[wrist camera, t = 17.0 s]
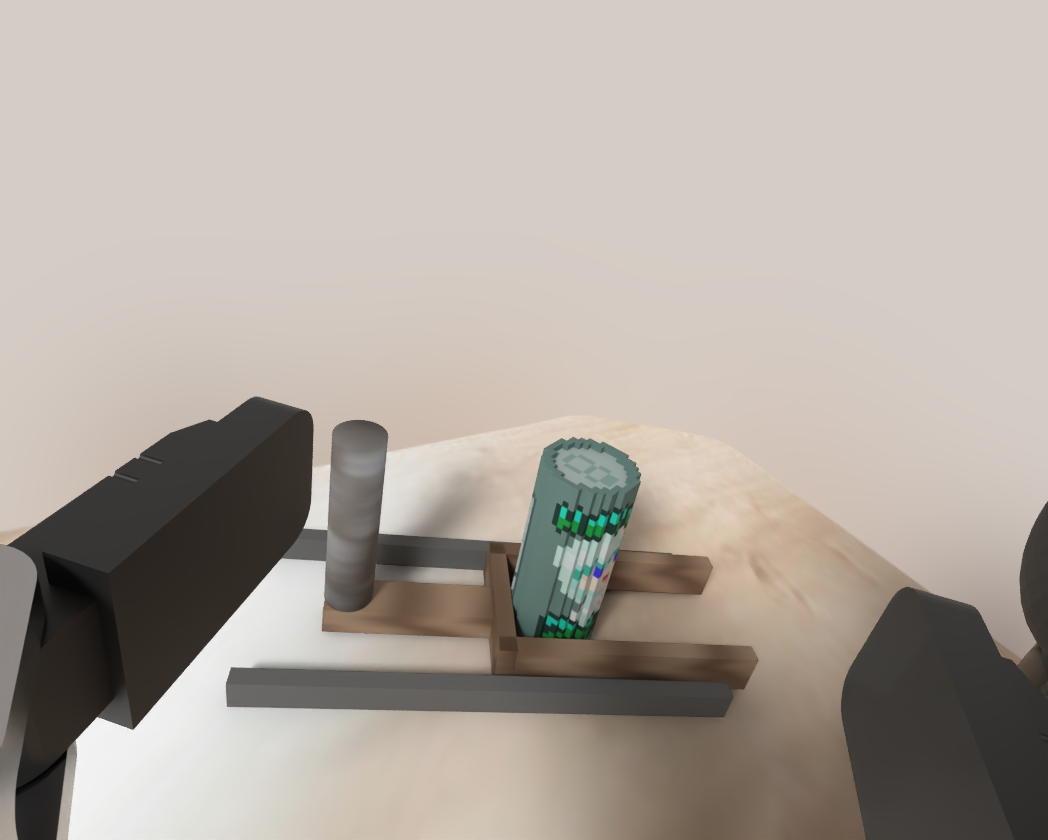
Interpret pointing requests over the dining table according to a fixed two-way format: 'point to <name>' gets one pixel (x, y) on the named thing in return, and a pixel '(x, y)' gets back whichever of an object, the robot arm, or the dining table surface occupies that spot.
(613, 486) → the can
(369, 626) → the pull sled
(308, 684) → the lane rails
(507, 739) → the dining table surface
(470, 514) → the dining table surface
